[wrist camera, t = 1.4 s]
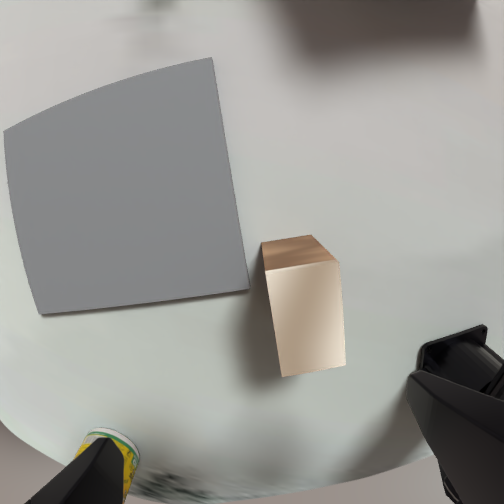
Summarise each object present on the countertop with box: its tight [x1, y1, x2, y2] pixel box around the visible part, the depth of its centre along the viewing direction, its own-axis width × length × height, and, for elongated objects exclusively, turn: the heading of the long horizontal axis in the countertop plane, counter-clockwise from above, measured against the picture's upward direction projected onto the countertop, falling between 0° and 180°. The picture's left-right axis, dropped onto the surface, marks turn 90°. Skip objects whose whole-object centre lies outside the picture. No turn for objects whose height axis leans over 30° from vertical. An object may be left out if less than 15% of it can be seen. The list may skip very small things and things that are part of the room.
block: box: [261, 235, 346, 377], centre depth 16 cm, size 3×5×6 cm, turn 9°
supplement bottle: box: [72, 428, 140, 504], centre depth 19 cm, size 5×5×10 cm
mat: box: [4, 57, 250, 314], centre depth 18 cm, size 16×14×1 cm
